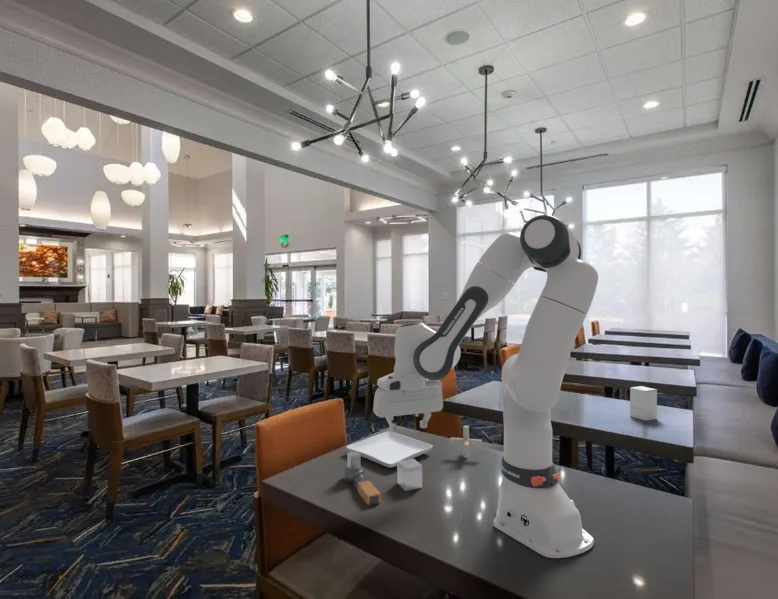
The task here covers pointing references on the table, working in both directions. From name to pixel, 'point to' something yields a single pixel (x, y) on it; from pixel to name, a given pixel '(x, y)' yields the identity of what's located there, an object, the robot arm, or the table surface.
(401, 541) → the table surface
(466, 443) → the pipe connector
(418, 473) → the white speckled cube
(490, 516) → the table surface
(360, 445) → the salad plate
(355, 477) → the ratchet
